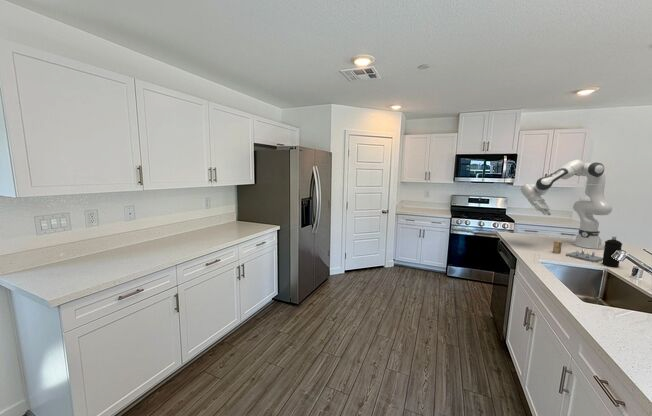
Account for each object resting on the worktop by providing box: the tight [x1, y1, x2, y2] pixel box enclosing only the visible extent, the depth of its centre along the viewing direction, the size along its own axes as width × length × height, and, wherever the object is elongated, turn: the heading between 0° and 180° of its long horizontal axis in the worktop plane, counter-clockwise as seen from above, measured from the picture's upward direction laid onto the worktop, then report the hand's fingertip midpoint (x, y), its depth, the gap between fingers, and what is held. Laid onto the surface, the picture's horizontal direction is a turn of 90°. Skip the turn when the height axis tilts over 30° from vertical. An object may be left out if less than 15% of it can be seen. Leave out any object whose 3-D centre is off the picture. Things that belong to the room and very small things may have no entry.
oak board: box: [552, 240, 563, 255], centre depth 209 cm, size 5×3×9 cm, turn 114°
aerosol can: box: [601, 236, 623, 268], centre depth 180 cm, size 8×8×20 cm
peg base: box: [565, 248, 603, 263], centre depth 197 cm, size 14×17×5 cm
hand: (547, 214), depth 215 cm, fingers open, 8 cm apart
